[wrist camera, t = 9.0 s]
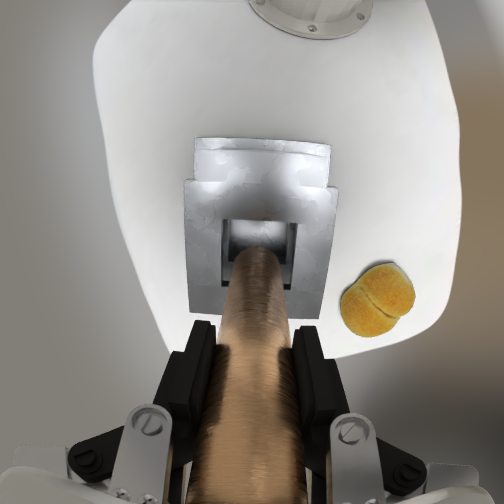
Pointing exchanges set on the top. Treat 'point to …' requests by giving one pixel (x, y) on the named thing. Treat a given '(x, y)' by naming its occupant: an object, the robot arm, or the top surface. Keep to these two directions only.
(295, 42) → the top surface
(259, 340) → the brown rod
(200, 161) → the collar stand
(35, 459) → the robot arm
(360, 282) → the bread roll
